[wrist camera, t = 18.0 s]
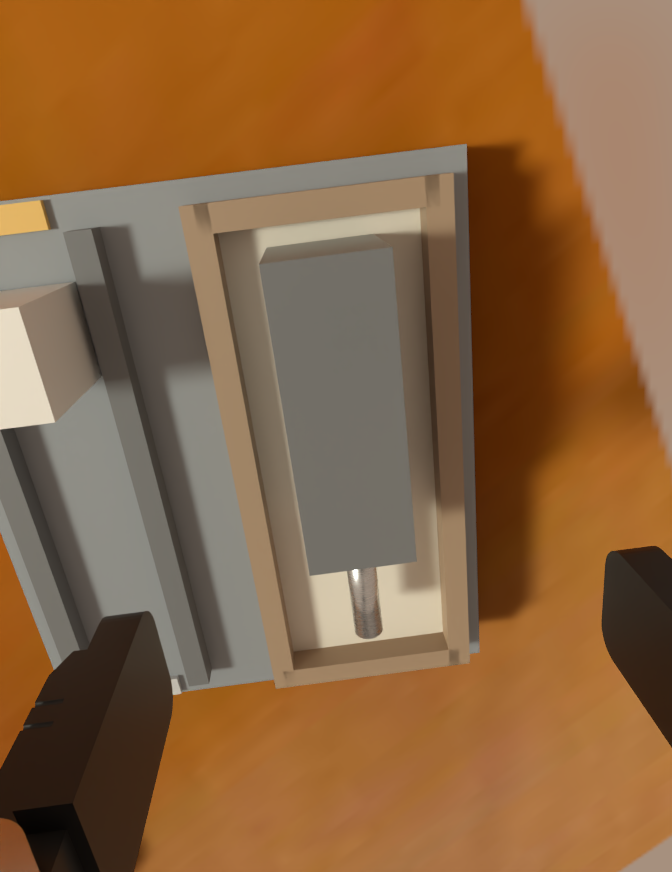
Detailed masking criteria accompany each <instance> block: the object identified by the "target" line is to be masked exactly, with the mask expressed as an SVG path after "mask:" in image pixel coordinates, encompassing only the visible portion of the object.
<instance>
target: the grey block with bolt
mask: <svg viewBox="0 0 672 872" xmlns="http://www.w3.org/2000/svg"><path fill="white" fill-rule="evenodd" d="M259 268H260V274H261V281H262V287H263V293H264V299H265V305H266V311H267V317H268V323H269V330H270V336H271V342H272V348H273V354H274V360H275V366H276V373H277V379H278V385H279V391H280V397H281V403H282V409H283V415H284V422H285V428H286V434H287V440H288V446H289V452H290V458H291V464H292V471H293V477H294V483H295V489H296V495H297V501H298V507H299V514H300V520H301V526H302V532H303V538H304V544H305V550H306V556H307V563H308V569H309V575H310V576H313V575H321V574H328V573H336V572H343V571H347V577H348V584H349V592H350V599H351V607H352V614H353V622H354V629H355V633H356V635H357V636H358V637H360V638H363V639H373V638H376V637H377V636H379V635H380V634H381V633H382V631H383V624H382V615H381V606H380V597H379V588H378V578H377V569H376V567H381V566H388V565H395V564H403V563H410V562H417V558H416V545H415V532H414V519H413V506H412V493H411V480H410V467H409V454H408V441H407V428H406V415H405V402H404V389H403V376H402V364H401V351H400V338H399V325H398V312H397V299H396V286H395V273H394V260H393V247H392V246H390V245H389V244H387V243H386V242H384V241H383V240H381V239H380V238H378V237H377V236H375V235H374V234H368V235H360V236H352V237H344V238H337V239H329V240H321V241H313V242H306V243H298V244H290V245H282V246H275V247H267V248H266V250H265V252H264V254H263V256H262V259H261V261H260V263H259Z"/></svg>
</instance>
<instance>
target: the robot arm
mask: <svg viewBox="0 0 672 872" xmlns="http://www.w3.org/2000/svg"><path fill="white" fill-rule="evenodd" d="M602 632H603V637H604V641H605V644H606V647H607V650H608V652H609V654H610V656H611V658H612V660H613V662H614V663H615V664H616V666H617V667H618V669H619V670H620V672H621V673H622V675H623V676H624V678H625V679H626V681H627V682H628V684H629V685H630V687H631V688H632V689H633V691H634V692H635V694H636V695H637V697H638V698H639V700H640V701H641V703H642V704H643V706H644V707H645V709H646V710H647V712H648V713H649V714H650V716H651V717H652V719H653V720H654V722H655V723H656V725H657V726H658V728H659V729H660V731H661V732H662V734H663V735H664V737H665V738H666V740H667V741H668V742H669V744H670V745H671V747H672V559H671V558H670V557H669V556H668V555H667V554H666V553H665V552H664V551H663V550H661V549H660V548H659V547H657V546H648V547H641V548H633V549H626V550H618V551H611V552H610V553H609V554H608V555H607V558H606V563H605V578H604V593H603V609H602ZM172 706H173V691H172V683H171V678H170V674H169V670H168V667H167V663H166V660H165V656H164V652H163V649H162V645H161V642H160V638H159V635H158V631H157V627H156V624H155V621H154V618H153V616H152V614H151V613H150V612H149V611H143V612H135V613H128V614H120V615H112V616H105V617H104V618H102V620H101V621H100V623H99V625H98V627H97V629H96V631H95V634H94V636H93V638H92V640H91V642H90V644H89V647H88V649H86V650H78V651H73V652H72V653H71V654H70V655H69V656H68V657H67V658H66V659H65V660H64V661H63V662H62V663H61V664H60V665H59V666H58V667H57V668H56V669H55V670H54V671H53V672H52V673H51V674H50V675H49V677H48V678H47V680H46V682H45V684H44V686H43V688H42V690H41V692H40V694H39V696H38V698H37V700H36V702H35V708H32V709H31V711H30V713H29V715H28V717H27V719H26V721H25V723H24V725H23V726H24V729H23V731H20V732H19V734H18V736H17V738H16V740H15V742H14V744H13V746H12V748H11V750H10V752H9V754H8V756H7V758H6V760H5V761H4V763H3V765H2V767H1V769H0V872H134V869H135V864H136V860H137V856H138V852H139V848H140V844H141V840H142V836H143V831H144V827H145V823H146V819H147V815H148V811H149V807H150V803H151V798H152V794H153V790H154V786H155V782H156V778H157V774H158V770H159V765H160V761H161V757H162V753H163V749H164V745H165V741H166V736H167V732H168V728H169V724H170V720H171V715H172Z"/></svg>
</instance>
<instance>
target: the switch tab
mask: <svg viewBox="0 0 672 872" xmlns="http://www.w3.org/2000/svg"><path fill="white" fill-rule="evenodd" d="M100 378H101V373H100V370H99V366H98V363H97V359H96V355H95V352H94V348H93V345H92V341H91V337H90V334H89V330H88V327H87V323H86V319H85V316H84V312H83V309H82V305H81V302H80V298H79V294H78V291H77V287H76V284H75V282H69V283H61V284H53V285H45V286H37V287H29V288H21V289H13V290H5V291H0V429H8V428H16V427H24V426H32V425H40V424H47V423H55V422H56V421H57V420H58V419H59V418H60V417H61V416H62V415H63V414H64V413H65V412H66V411H67V410H68V409H69V408H70V407H71V406H72V405H73V404H74V403H75V402H76V401H77V400H78V399H79V398H80V397H82V396H83V395H84V394H85V393H86V392H87V391H88V390H89V389H90V388H91V387H92V386H93V385H94V384H95V383H96V382H97V381H98V380H99V379H100Z"/></svg>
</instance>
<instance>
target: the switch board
mask: <svg viewBox="0 0 672 872" xmlns="http://www.w3.org/2000/svg"><path fill="white" fill-rule="evenodd" d="M368 234H374V235H375V236H377V237H378V238H380V239H381V240H383V241H384V242H386V243H387V244H389V245H390V246H392V247H393V260H394V273H395V286H396V299H397V312H398V325H399V338H400V351H401V364H402V376H403V389H404V402H405V415H406V428H407V441H408V454H409V467H410V480H411V493H412V506H413V519H414V532H415V545H416V558H417V562H410V563H403V564H395V565H388V566H381V567H376V569H377V578H378V588H379V597H380V606H381V615H382V624H383V631H382V633H381V634H380V635H379V636H377V637H376V638H373V639H363V638H360V637H358V636H357V635H356V633H355V629H354V622H353V614H352V607H351V599H350V592H349V584H348V577H347V571H343V572H336V573H328V574H321V575H313V576H310V575H309V569H308V563H307V556H306V550H305V544H304V538H303V532H302V526H301V520H300V514H299V507H298V501H297V495H296V489H295V483H294V477H293V471H292V464H291V458H290V452H289V446H288V440H287V434H286V428H285V422H284V415H283V409H282V403H281V397H280V391H279V385H278V379H277V373H276V366H275V360H274V354H273V348H272V342H271V336H270V330H269V323H268V317H267V311H266V305H265V299H264V293H263V287H262V281H261V274H260V268H259V263H260V261H261V259H262V256H263V254H264V252H265V250H266V248H267V247H275V246H282V245H290V244H298V243H306V242H313V241H321V240H329V239H337V238H344V237H352V236H360V235H368ZM69 282H75V284H76V287H77V291H78V294H79V298H80V302H81V305H82V309H83V312H84V316H85V319H86V323H87V327H88V330H89V334H90V337H91V341H92V345H93V348H94V352H95V355H96V359H97V363H98V366H99V370H100V373H101V378H100V379H99V380H98V381H97V382H96V383H95V384H94V385H93V386H92V387H91V388H90V389H89V390H88V391H87V392H86V393H85V394H84V395H83V396H82V397H80V398H79V399H78V400H77V401H76V402H75V403H74V404H73V405H72V406H71V407H70V408H69V409H68V410H67V411H66V412H65V413H64V414H63V415H62V416H61V417H60V418H59V419H58V420H57V421H56V422H55V423H47V424H40V425H32V426H24V427H16V428H8V429H0V532H1V535H2V537H3V540H4V543H5V545H6V548H7V550H8V553H9V555H10V558H11V561H12V563H13V566H14V568H15V571H16V573H17V576H18V579H19V581H20V584H21V586H22V589H23V591H24V594H25V596H26V599H27V602H28V604H29V607H30V609H31V612H32V614H33V617H34V620H35V622H36V625H37V627H38V630H39V632H40V635H41V638H42V640H43V643H44V645H45V648H46V650H47V653H48V656H49V658H50V661H51V663H52V666H53V668H54V670H55V669H56V668H57V667H58V666H59V665H60V664H61V663H62V662H63V661H64V660H65V659H66V658H67V657H68V656H69V655H70V654H71V653H72V652H73V651H78V650H86V649H88V647H89V644H90V642H91V640H92V638H93V636H94V634H95V631H96V629H97V627H98V625H99V623H100V621H101V620H102V618H104V617H105V616H112V615H120V614H128V613H135V612H143V611H149V612H150V613H151V614H152V616H153V618H154V621H155V624H156V627H157V631H158V635H159V638H160V642H161V645H162V649H163V652H164V656H165V660H166V663H167V667H168V670H169V674H170V678H171V683H172V691H173V695H175V694H181V693H182V692H184V691H192V690H199V689H207V688H214V687H222V686H230V685H237V684H245V683H252V682H260V681H267V680H274V681H275V686H276V689H278V688H285V687H293V686H300V685H308V684H316V683H323V682H331V681H338V680H346V679H353V678H361V677H368V676H376V675H383V674H391V673H399V672H406V671H414V670H421V669H429V668H436V667H444V666H451V665H459V664H467V663H470V654H471V653H479V615H478V575H477V535H476V495H475V456H474V416H473V376H472V336H471V296H470V256H469V216H468V176H467V144H463V145H455V146H446V147H438V148H430V149H422V150H414V151H406V152H398V153H390V154H381V155H373V156H365V157H357V158H349V159H341V160H333V161H325V162H316V163H308V164H300V165H292V166H284V167H276V168H268V169H260V170H251V171H243V172H235V173H227V174H219V175H211V176H203V177H195V178H186V179H178V180H170V181H162V182H154V183H146V184H138V185H130V186H122V187H113V188H105V189H97V190H89V191H81V192H73V193H65V194H57V195H48V196H40V197H32V198H24V199H16V200H8V201H0V291H5V290H13V289H21V288H29V287H37V286H45V285H53V284H61V283H69Z"/></svg>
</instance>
